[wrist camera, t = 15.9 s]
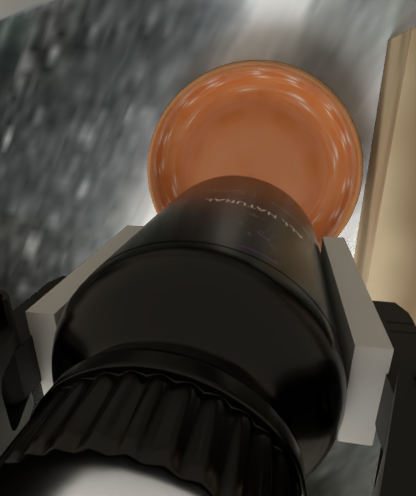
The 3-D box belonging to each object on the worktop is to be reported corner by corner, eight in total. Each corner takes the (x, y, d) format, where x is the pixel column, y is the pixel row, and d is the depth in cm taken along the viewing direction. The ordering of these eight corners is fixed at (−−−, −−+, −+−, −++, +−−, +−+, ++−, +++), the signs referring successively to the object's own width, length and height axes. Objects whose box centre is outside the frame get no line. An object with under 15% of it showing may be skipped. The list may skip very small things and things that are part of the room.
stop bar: (349, 289, 32) (360, 321, 28) (388, 40, 25) (412, 28, 20) (398, 293, 31) (418, 326, 27) (453, 38, 24) (493, 25, 20)
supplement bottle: (299, 151, 14) (373, 347, 3) (329, 306, 16) (432, 743, 5) (136, 192, 16) (-186, 407, 5) (183, 327, 18) (32, 685, 7)
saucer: (121, 141, 31) (106, 146, 28) (291, 13, 26) (292, 2, 23) (223, 290, 35) (218, 306, 32) (391, 205, 29) (403, 216, 26)
